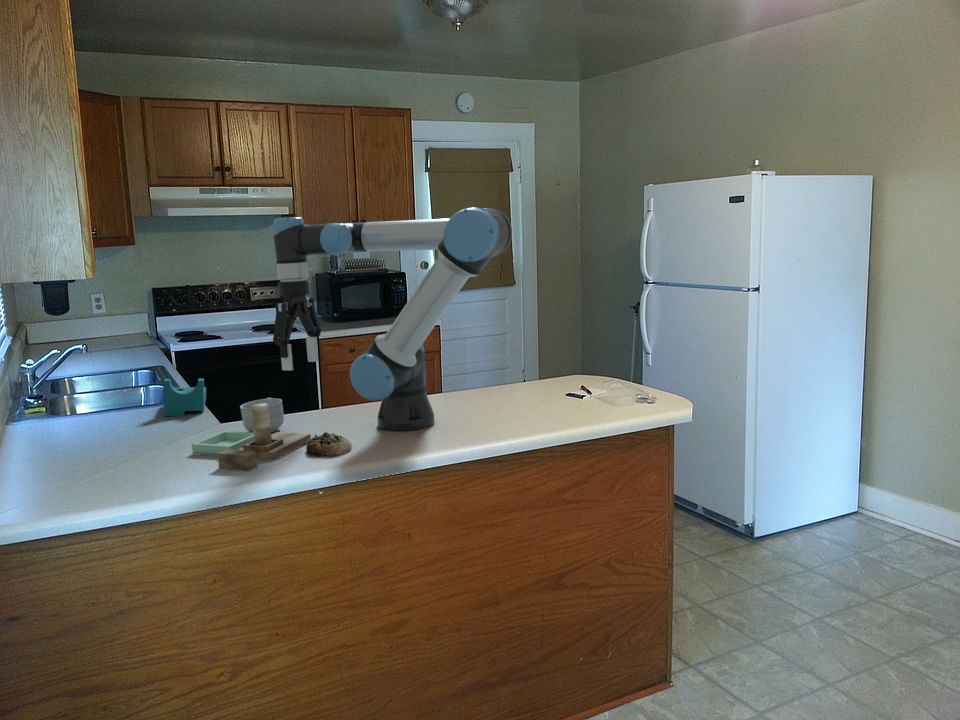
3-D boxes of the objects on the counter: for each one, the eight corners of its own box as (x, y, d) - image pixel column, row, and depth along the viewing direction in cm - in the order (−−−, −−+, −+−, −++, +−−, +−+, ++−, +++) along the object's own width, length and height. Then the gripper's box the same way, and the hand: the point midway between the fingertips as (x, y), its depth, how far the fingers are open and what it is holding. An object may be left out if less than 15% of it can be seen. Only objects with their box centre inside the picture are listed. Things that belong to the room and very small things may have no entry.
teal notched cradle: (203, 415, 228) (203, 380, 226) (164, 416, 225) (163, 381, 223) (206, 402, 245) (205, 370, 243) (169, 403, 242) (169, 370, 240)
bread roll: (296, 451, 184) (297, 431, 183) (334, 446, 192) (335, 427, 191) (324, 461, 176) (325, 440, 176) (362, 456, 184) (363, 436, 184)
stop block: (256, 466, 173) (255, 451, 173) (248, 470, 171) (247, 455, 170) (227, 464, 176) (225, 449, 176) (219, 468, 173) (217, 453, 173)
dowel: (275, 444, 184) (271, 403, 182) (266, 449, 180) (261, 407, 179) (261, 443, 185) (257, 403, 184) (251, 448, 182) (246, 407, 180)
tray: (260, 442, 193) (260, 433, 192) (230, 456, 182) (229, 446, 181) (224, 440, 197) (223, 430, 196) (192, 454, 186) (191, 444, 185)
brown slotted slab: (311, 443, 193) (310, 429, 192) (273, 462, 178) (272, 447, 177) (277, 441, 196) (276, 427, 195) (237, 460, 181) (236, 445, 181)
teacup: (273, 437, 197) (270, 407, 196) (234, 437, 200) (231, 407, 198) (296, 423, 211) (294, 395, 209) (260, 423, 213) (257, 395, 212)
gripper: (305, 276, 205) (312, 357, 209) (252, 284, 183) (260, 374, 187) (330, 275, 202) (337, 357, 206) (278, 283, 181) (287, 375, 184)
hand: (300, 365), depth 197 cm, fingers open, 11 cm apart
